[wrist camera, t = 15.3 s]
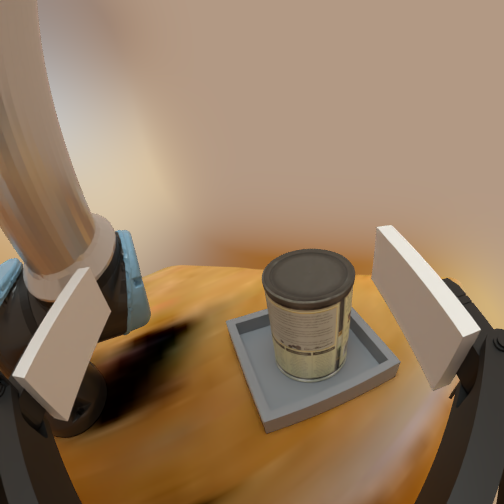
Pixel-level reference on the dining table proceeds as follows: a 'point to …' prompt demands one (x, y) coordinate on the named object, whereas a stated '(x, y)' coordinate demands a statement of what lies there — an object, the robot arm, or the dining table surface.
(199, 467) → the dining table surface
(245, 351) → the tray
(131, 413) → the dining table surface
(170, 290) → the dining table surface
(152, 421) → the dining table surface
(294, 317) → the coffee can
